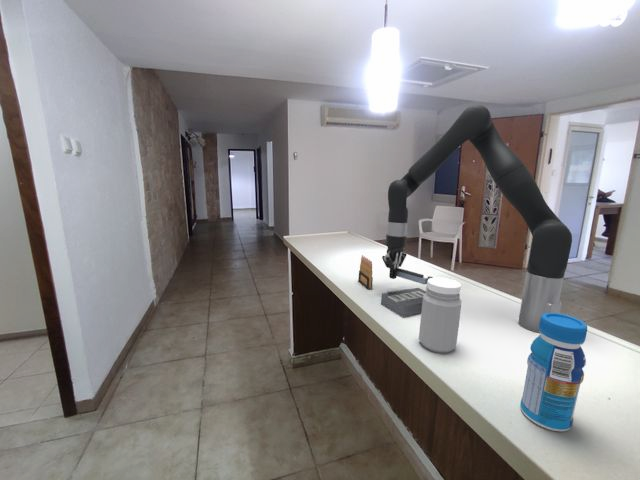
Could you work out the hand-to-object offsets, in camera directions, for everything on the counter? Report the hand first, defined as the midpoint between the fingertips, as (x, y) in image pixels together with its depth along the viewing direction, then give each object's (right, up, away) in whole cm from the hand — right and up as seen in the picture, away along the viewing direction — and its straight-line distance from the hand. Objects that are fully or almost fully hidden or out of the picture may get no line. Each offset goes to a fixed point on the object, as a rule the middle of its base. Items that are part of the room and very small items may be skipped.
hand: (392, 278), depth 121 cm
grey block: (+4, -9, -10) cm, 14 cm away
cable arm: (+5, -1, -1) cm, 6 cm away
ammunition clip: (-9, -5, +11) cm, 15 cm away
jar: (+4, -14, -35) cm, 38 cm away
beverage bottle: (+15, -19, -61) cm, 65 cm away
